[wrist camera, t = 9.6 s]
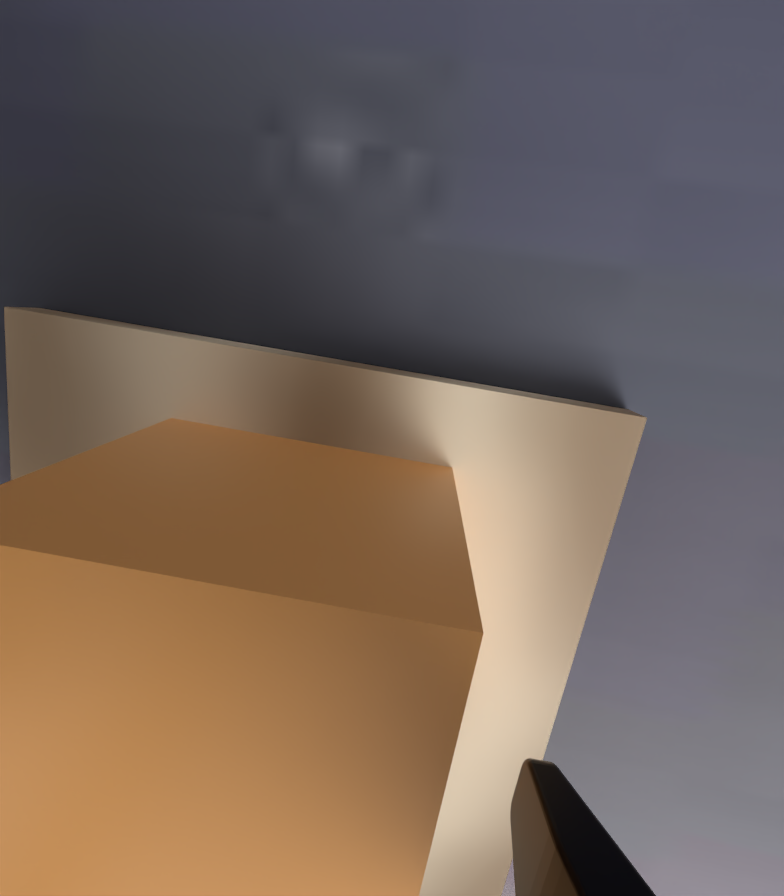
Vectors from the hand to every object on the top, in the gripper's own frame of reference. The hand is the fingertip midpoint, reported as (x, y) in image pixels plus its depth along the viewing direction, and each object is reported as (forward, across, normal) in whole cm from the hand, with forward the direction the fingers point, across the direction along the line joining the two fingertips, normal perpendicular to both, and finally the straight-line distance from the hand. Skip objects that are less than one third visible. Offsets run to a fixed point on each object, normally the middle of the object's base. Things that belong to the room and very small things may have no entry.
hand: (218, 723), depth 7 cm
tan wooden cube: (+5, 0, 0) cm, 5 cm away
